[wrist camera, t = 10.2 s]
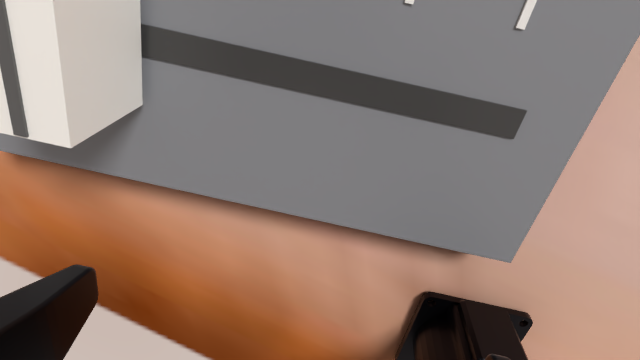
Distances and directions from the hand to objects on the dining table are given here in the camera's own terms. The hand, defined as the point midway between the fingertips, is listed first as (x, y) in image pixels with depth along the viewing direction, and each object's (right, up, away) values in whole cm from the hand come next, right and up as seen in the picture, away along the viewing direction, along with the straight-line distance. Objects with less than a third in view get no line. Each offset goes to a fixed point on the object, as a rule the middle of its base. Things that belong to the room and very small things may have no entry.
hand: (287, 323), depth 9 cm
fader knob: (-7, +9, +6) cm, 13 cm away
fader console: (-1, +9, +9) cm, 12 cm away
